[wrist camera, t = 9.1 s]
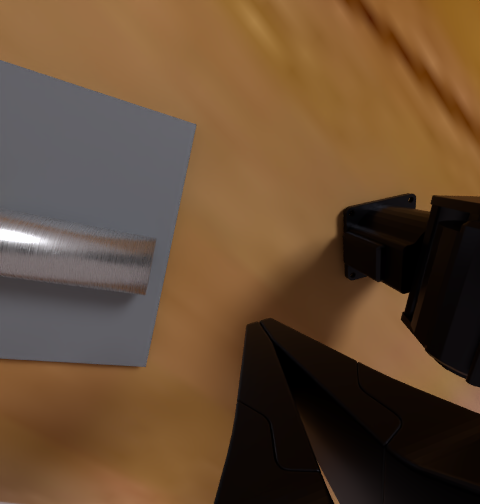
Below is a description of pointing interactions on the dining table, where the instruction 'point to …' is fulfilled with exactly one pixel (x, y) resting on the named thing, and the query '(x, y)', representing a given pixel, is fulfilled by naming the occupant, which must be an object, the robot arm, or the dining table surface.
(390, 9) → the dining table surface
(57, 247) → the valve
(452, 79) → the dining table surface
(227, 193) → the dining table surface
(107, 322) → the mounting board
